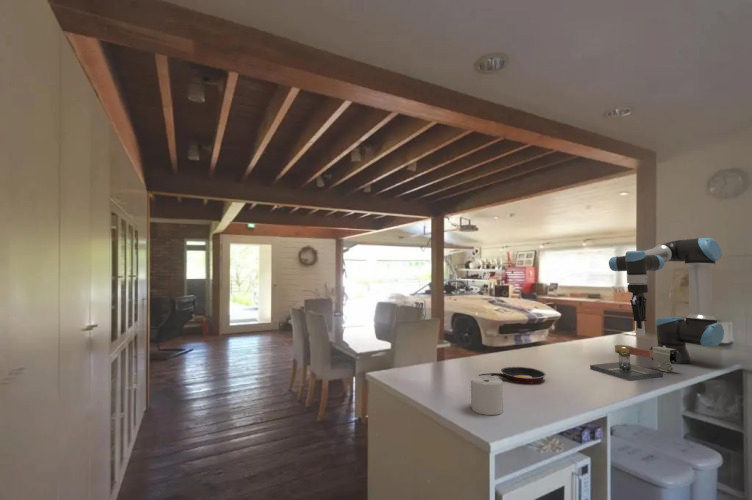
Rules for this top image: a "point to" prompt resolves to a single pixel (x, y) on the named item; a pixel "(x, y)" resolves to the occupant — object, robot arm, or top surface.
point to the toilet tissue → (486, 395)
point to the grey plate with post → (626, 369)
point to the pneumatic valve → (665, 357)
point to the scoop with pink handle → (633, 351)
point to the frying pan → (520, 374)
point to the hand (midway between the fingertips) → (641, 335)
